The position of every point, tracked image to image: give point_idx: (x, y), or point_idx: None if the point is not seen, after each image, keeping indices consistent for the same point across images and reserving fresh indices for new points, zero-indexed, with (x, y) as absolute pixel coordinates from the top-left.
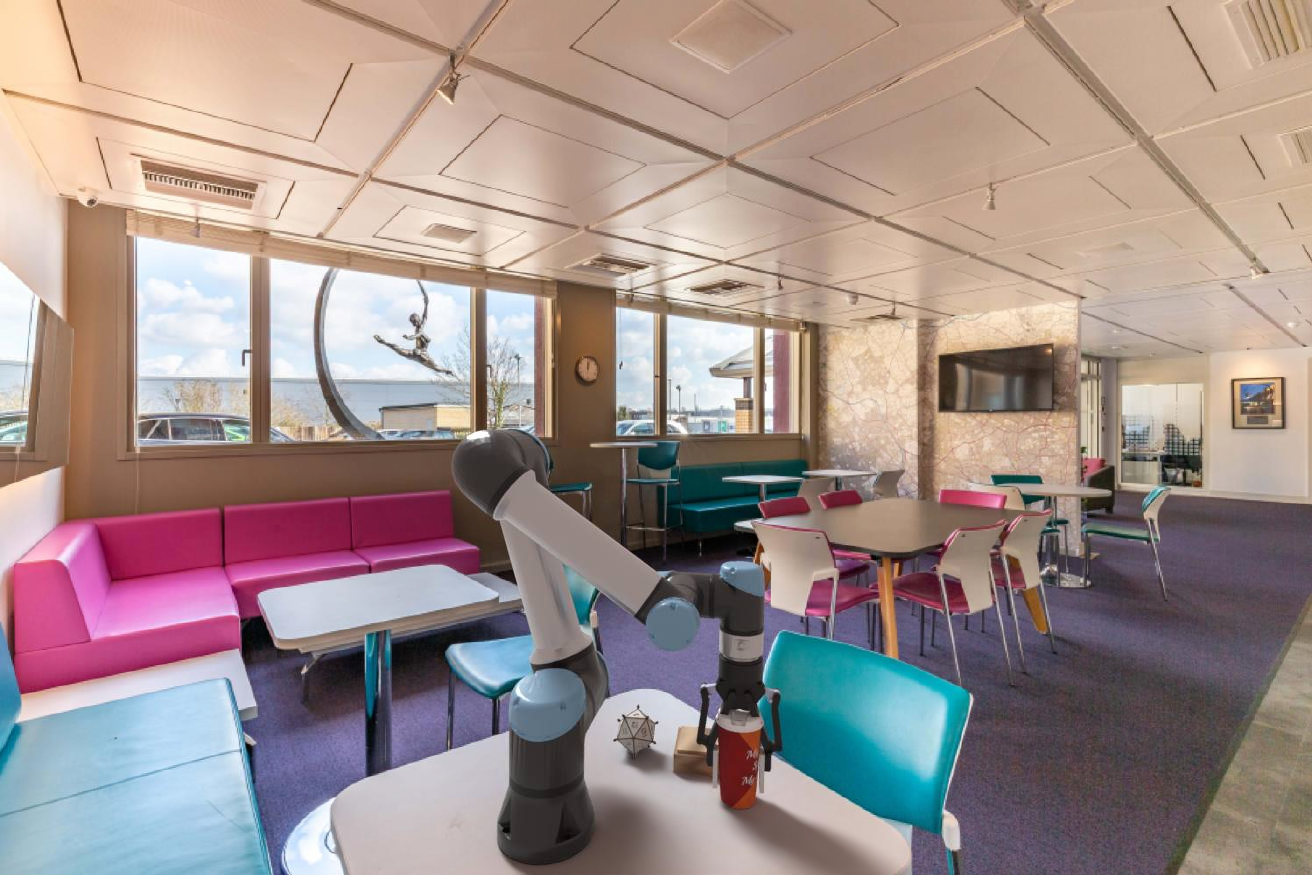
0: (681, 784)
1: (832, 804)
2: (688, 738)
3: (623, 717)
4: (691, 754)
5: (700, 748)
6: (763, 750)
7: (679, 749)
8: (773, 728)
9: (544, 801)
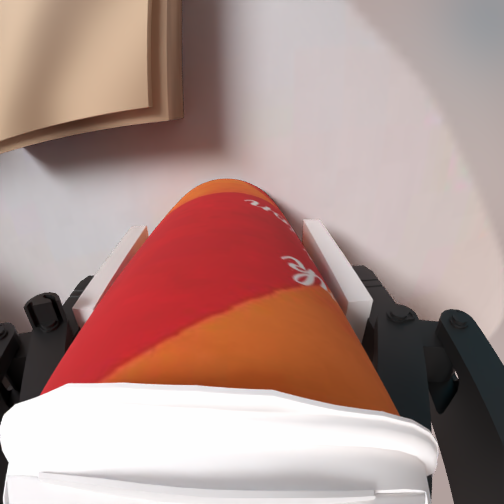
0: (53, 199)
1: (474, 214)
2: (4, 50)
3: None
4: (28, 136)
5: (45, 102)
6: (360, 333)
7: None
8: (447, 468)
9: None
